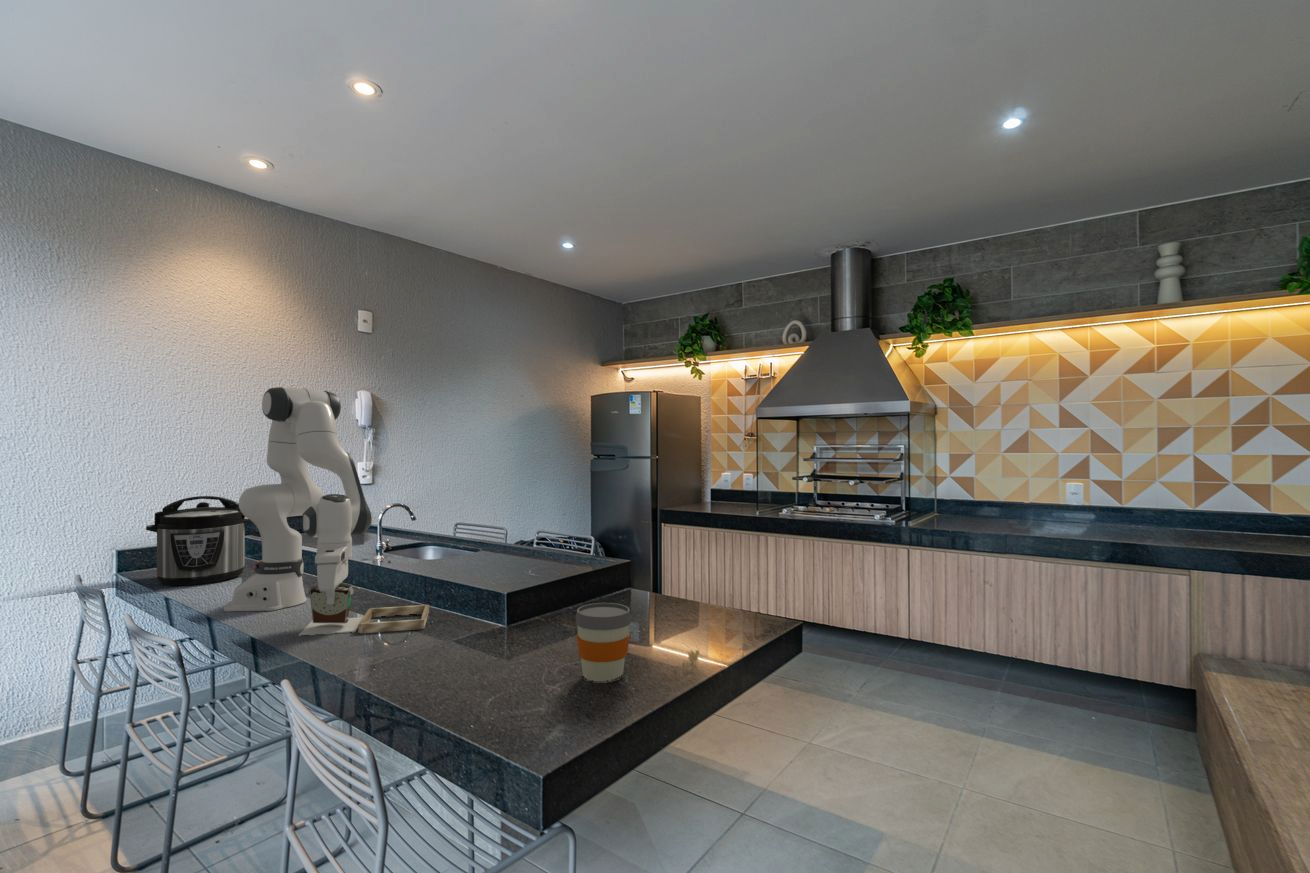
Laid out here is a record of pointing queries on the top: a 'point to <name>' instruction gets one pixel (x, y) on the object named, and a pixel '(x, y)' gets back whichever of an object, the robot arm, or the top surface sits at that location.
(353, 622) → the mat
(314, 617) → the food container
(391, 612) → the frame
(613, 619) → the reusable coffee cup
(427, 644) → the top surface
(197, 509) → the pressure cooker
